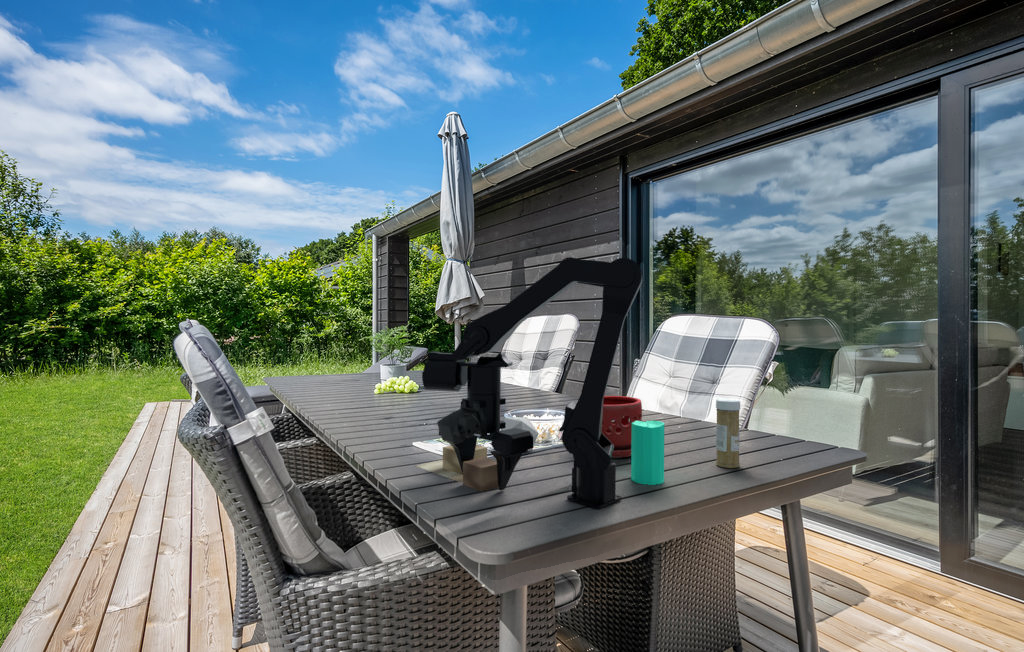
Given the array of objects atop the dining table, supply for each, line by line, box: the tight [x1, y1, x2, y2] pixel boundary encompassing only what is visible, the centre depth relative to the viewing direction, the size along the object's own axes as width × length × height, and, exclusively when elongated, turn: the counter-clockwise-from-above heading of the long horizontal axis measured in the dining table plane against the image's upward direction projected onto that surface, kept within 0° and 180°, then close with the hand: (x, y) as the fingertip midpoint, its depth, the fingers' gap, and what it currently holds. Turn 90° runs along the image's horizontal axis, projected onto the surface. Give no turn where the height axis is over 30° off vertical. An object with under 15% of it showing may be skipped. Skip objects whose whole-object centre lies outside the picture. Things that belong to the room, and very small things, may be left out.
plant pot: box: [601, 395, 643, 459], centre depth 117 cm, size 13×13×12 cm
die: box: [500, 416, 540, 452], centre depth 116 cm, size 8×9×10 cm
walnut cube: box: [462, 456, 498, 492], centre depth 91 cm, size 5×5×5 cm
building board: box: [415, 458, 463, 483], centre depth 102 cm, size 14×12×1 cm
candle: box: [630, 420, 665, 486], centre depth 98 cm, size 6×6×12 cm
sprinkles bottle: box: [715, 397, 741, 469], centre depth 107 cm, size 5×5×13 cm
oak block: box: [442, 444, 488, 475], centre depth 101 cm, size 6×6×4 cm
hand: (483, 483), depth 91 cm, fingers open, 9 cm apart
